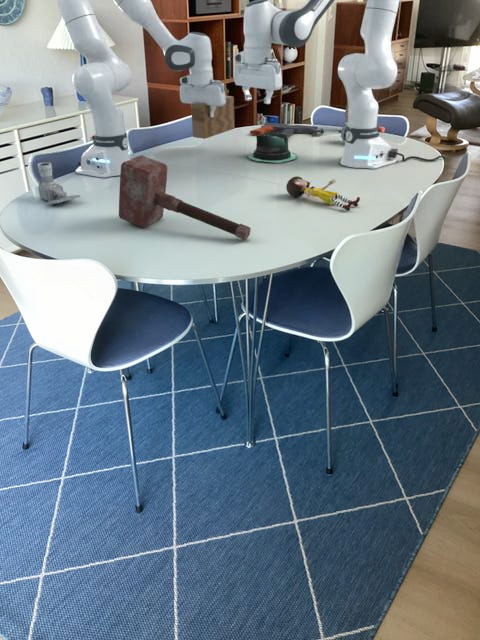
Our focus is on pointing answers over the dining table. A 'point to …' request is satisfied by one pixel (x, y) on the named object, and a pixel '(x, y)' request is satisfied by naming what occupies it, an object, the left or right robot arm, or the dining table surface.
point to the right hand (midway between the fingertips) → (257, 102)
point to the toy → (343, 132)
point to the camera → (51, 186)
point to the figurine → (317, 192)
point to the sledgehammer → (160, 198)
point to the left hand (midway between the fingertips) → (203, 116)
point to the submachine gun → (286, 129)
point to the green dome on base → (272, 148)
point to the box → (212, 119)
